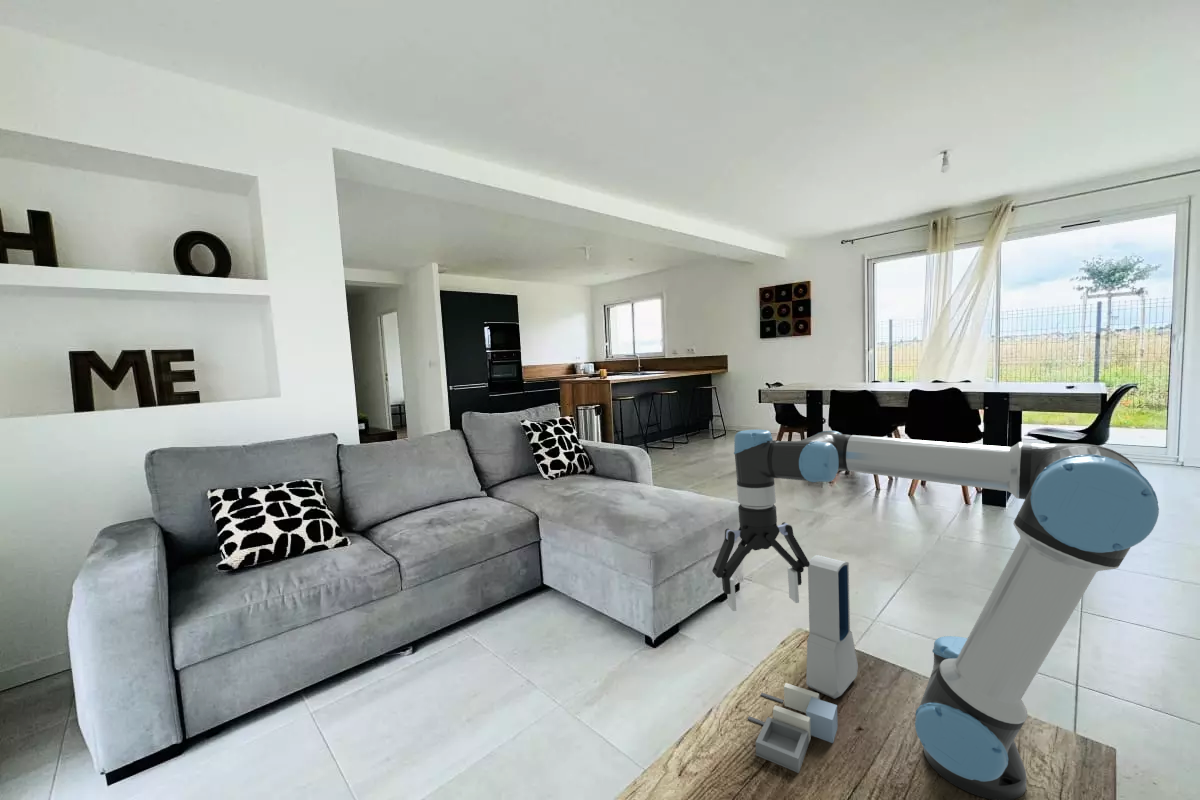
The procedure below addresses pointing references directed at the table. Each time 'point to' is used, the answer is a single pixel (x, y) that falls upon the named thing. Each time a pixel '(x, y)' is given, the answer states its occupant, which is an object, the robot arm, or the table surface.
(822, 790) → the table surface
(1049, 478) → the robot arm
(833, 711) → the block
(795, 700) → the channel
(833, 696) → the electronic device
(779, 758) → the tray
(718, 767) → the table surface
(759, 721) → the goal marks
